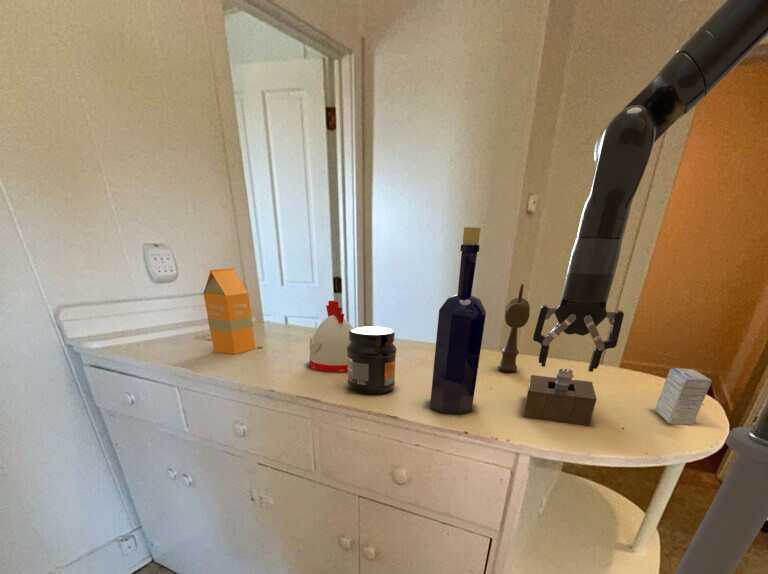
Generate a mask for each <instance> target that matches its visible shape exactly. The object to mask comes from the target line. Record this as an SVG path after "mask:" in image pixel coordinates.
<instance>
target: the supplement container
mask: <svg viewBox="0 0 768 574" xmlns="http://www.w3.org/2000/svg"><path fill="white" fill-rule="evenodd" d="M395 334H396V332H395V330H393V329H391V328H388V327H384V326H383V327H382V326H357V327H353V328H352V329H350V330H349V340H350V343H349V345H348V346H347V361H348V372H347V386H348V388H349V389H350V390H352V391H353V392H356V393H359V394H364V395H382V394H385V393H389V392H390V391H392V390H393V389H394V387H395V385H396V381H395V379H396V358H397V357H396V355H397V346H396V345H395V344H394V342H395V339H396V338H395V336H396V335H395Z"/></svg>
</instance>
